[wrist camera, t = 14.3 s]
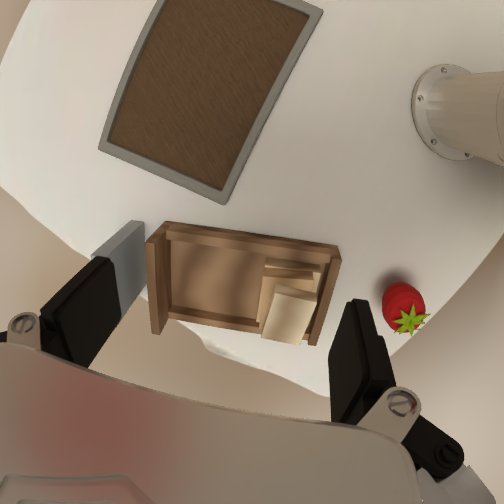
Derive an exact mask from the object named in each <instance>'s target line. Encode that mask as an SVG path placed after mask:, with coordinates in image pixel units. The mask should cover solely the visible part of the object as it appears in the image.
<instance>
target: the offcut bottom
mask: <svg viewBox="0 0 504 504" xmlns="http://www.w3.org/2000/svg"><path fill="white" fill-rule="evenodd" d="M265 267H267V268H279V269H291V270H303V271H313V278H314V283H313V289H312V292H313V293H316V291H317V287H318V283H319V279H320V275H321V271H320V265H318V264H311V263H304V262H297V261H290V260H284V259H277V258H270V257H266V261H265ZM261 295H262V287H261V294H260V300H259V307H258V313H257V320H256V322H260V308H261Z"/></svg>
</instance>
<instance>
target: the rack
mask: <svg viewBox="0 0 504 504" xmlns="http://www.w3.org/2000/svg"><path fill="white" fill-rule="evenodd" d="M145 257H146V274H147V288H148V300H149V311H150V321H151V330H152V333H153V334H157V335H160V334H161V332H162V330H163V328H164V325H165V324H166V322H167V320H168V318H171V319H176V320H181V321H186V322H192V323H197V324H202V325H208V326H213V327H219V328H225V329H231V330H237V331H243V332H250V333H256V334H261V332H262V329H259V322H256V320H257V313H258V307H259V300H260V294H261V287H262V281H263V272H264V267H265V261H266V257H270V258H277V259H284V260H290V261H297V262H304V263H311V264H318V265H320V271H321V275H320V279H319V283H318V287H317V291H316V297H317V305H316V307H315V309H314V312H313V314H312V317H311V319H310V321H309V324H308V326H307V328H306V331H305V333H304V335H303V338H302V340H308V345H313V346H316V344H317V341H318V338H319V335H320V332H321V329H322V326H323V323H324V320H325V317H326V313H327V310H328V307H329V304H330V300H331V297H332V293H333V290H334V287H335V283H336V280H337V276H338V272H339V269H340V265H341V262H342V259H341V256H340V253H339V250H338V247H337V246H335V245H328V244H322V243H315V242H309V241H302V240H296V239H289V238H283V237H276V236H269V235H262V234H256V233H249V232H242V231H235V230H228V229H221V228H214V227H207V226H199V225H192V224H185V223H177V222H170V221H165V222H164V223H163V224H162V225H161V226H160V227H159V228H158V229H157V230H156V231H155V232H154V233H153V234H152V235H151V236H150V237H149V238H148V240H147V241H146V242H145Z"/></svg>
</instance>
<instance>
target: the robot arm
mask: <svg viewBox="0 0 504 504" xmlns="http://www.w3.org/2000/svg"><path fill="white" fill-rule="evenodd" d="M441 70H442V72H441ZM418 97H419V99H420V100H419V101H418ZM412 113H413V119H414V122H415V125H416V128H417V130H418V132H419V134H420V136H421V138H422V139H423V141H424V142H425V144H426V145H427V146H428V147H429V148H430V149H431V150H432V151H434V152H435V153H437V154H438V155H440V156H442V157H444V158H447V159H450V160H455V161H462V160H468V159H470V158H473V157H474V156H477V157H479V158H482V159H485V160H487V161H490V162H492V163H495V164H498V165H500V166H502V167H504V72H486V73H473V74H471V73H470V72H468V71H467V70H465V69H463V68H461V67H459V66H456V65H449V64H445V65H438V66H435V67H432V68H430V69H429V70H427V71H426V72H425V73H424V74H423V75H421V77H420V78H419V80H418V81H417V83H416V86H415V88H414V91H413V97H412ZM431 139H432V143H431ZM40 312H41V315H40V316H39V317H38V316H37V315H36V314H35V313H31V312H24V313H20V314H18V315H16V316H15V317H14V318H12V319H11V321H10V322H9V324H8V331H5V332H1V333H0V504H496V501H495V499H494V496H493V495H492V494H491V493H490V491H489V490H488V489H487V487H486V486H485V485H484V483H483V482H482V481H481V480H480V478H479V477H478V476H477V474H476V473H475V472H474V470H473V469H472V468H471V467H470V465H469V466H468V467H466V466H465V465H464V464H463V461H464V452H463V449H462V447H461V446H460V444H459V443H458V442H457V441H455V440H454V439H453V438H451V437H450V436H448V435H447V434H446V433H444V432H443V431H442V430H440V429H439V428H437V427H436V426H435V425H433V424H432V423H431V422H429V421H428V420H426V419H425V418H424V417H422V416H421V415H420V412H421V402H420V400H419V398H418V397H417V395H416V394H415V393H414V392H412V391H411V390H409V389H407V388H404V387H397V386H396V382H395V378H394V374H393V370H392V366H391V363H390V359H389V355H388V351H387V348H386V344H385V340H384V338H383V336H380V335H378V334H377V330H376V326H375V323H374V319H373V316H372V312H371V309H370V306H369V302H368V301H367V300H361V299H353V300H352V301H351V302H347V303H346V306H345V309H344V312H343V315H342V318H341V321H340V324H339V326H338V329H337V332H336V335H335V338H334V340H333V343H332V346H331V349H330V351H329V355H328V367H329V383H330V401H331V422H328V421H320V420H310V419H302V418H294V417H285V416H279V415H272V414H265V413H258V412H252V411H246V410H240V409H235V408H230V407H224V406H219V405H214V404H210V403H205V402H200V401H196V400H192V399H188V398H183V397H179V396H175V395H171V394H167V393H164V392H160V391H156V390H153V389H149V388H146V387H142V386H139V385H136V384H133V383H129V382H126V381H123V380H119V379H117V378H114V377H111V376H107V375H105V374H102V373H99V372H96V371H93V370H90V369H88V367H89V366H90V364H91V363H92V361H93V359H94V358H95V357H96V355H97V353H98V352H99V351H100V349H101V348H102V346H103V345H104V343H105V342H106V340H107V339H108V337H109V336H110V334H111V333H112V332H113V330H114V329H115V327H116V326H117V325H118V323H119V322H120V320H121V316H122V313H121V307H120V301H119V295H118V288H117V282H116V274H115V267H114V263H113V262H111V259H110V258H108V257H103V256H95V257H94V258H93V259H92V260H91V261H90V262H89V263H88V264H87V265H86V266H84V267H83V268H82V269H81V270H80V271H79V272H78V273H77V274H76V275H75V276H74V277H73V278H72V279H71V280H70V281H68V282H67V283H66V285H64V286H63V287H62V288H61V289H60V290H59V291H58V292H57V293H56V294H55V295H54V296H53V297H52V298H51V299H50V300H49V301H48V302H47V303H46V304H45V305H44V306H43V307H42V308H41V309H40ZM422 500H423V501H422Z"/></svg>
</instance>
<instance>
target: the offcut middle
mask: <svg viewBox="0 0 504 504" xmlns="http://www.w3.org/2000/svg"><path fill="white" fill-rule="evenodd" d="M313 283H314V278H313V271H303V270H291V269H279V268H267V267H264V272H263V281H262V295H261V308H260V322H259V329H262V326H263V323H264V320H265V317H266V313H267V310H268V307H269V304H270V301H271V298H272V294H273V291H274V288H275V285H276V284H279V285H284V286H288V287H292V288H296V289H301V290H305V291H309V292H312V289H313Z"/></svg>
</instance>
